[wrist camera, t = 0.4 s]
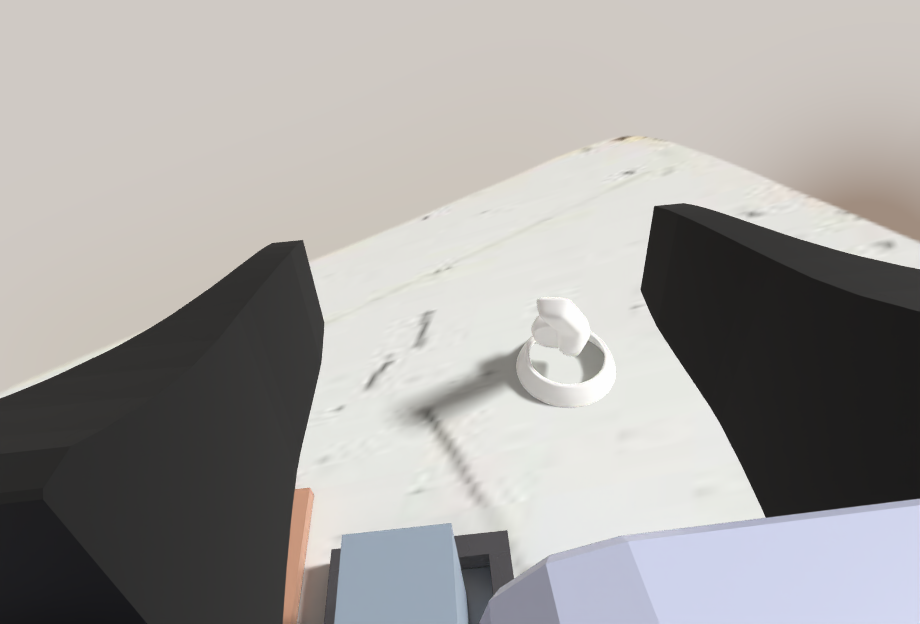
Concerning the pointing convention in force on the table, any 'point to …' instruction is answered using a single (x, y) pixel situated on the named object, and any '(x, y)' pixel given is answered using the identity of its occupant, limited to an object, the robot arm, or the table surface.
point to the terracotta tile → (297, 552)
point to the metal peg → (401, 578)
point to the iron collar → (471, 555)
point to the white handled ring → (570, 334)
